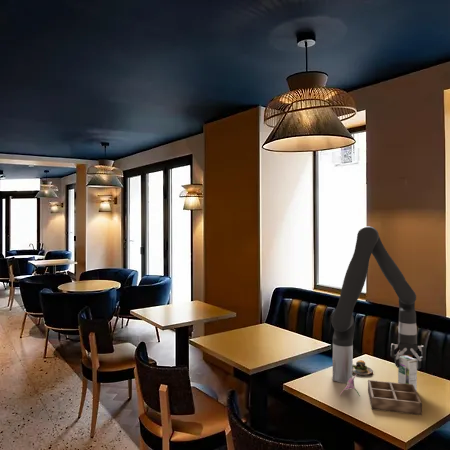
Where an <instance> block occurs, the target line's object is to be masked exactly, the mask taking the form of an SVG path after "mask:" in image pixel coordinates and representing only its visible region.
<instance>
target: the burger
mask: <svg viewBox="0 0 450 450" xmlns="http://www.w3.org/2000/svg"><path fill="white" fill-rule="evenodd" d="M353 374H354V375H356V374H357V375H361V376H368V375H371V376H373V375H374V370H373V369H372V368H370V367H368V366H367V365H366V361H364V360H362V359H359V360H357V361H356V364H354V363H353Z"/></svg>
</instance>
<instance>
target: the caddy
mask: <svg viewBox="0 0 450 450" xmlns="http://www.w3.org/2000/svg"><path fill="white" fill-rule="evenodd" d="M367 391H368V397H369V402H370V407H371V410H374V411H381V412H382V411H384V412H392V413H398V414H408V415H416V416H423V403H422V401H421V399H420V396H419V395H418V392H417V391H416V390H415V388H414V386H413V384H403V383H398V382H394V381H393V382H392V381H383V380H374V379H373V380H371V379H368V380H367Z"/></svg>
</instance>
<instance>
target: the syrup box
mask: <svg viewBox="0 0 450 450" xmlns="http://www.w3.org/2000/svg"><path fill="white" fill-rule="evenodd" d="M417 360H418V359H417V358H413V357H412V356H410V355H402V356H400V358H399V368H397V370H398V372H397V375H398V376H397V383H403V384H413V386H414V388H415V390H416V392H417V390H418V389H417V386H418V384H417V383H418V382H417V380H418V369H417Z"/></svg>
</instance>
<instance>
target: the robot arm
mask: <svg viewBox="0 0 450 450" xmlns="http://www.w3.org/2000/svg"><path fill="white" fill-rule="evenodd" d="M371 256H373V258H374V259H375V261H376V263H377V264H378V266H379V269H380V270H381V272H382V274H383V276H384V277H385V279H386V280H387V281H388V283H389V285H390V286H391V287H392V288H393V290H394V292H395V294H396V296H397V298H398V299H397V300H398V308H399V309H398V310H399V311H398V326H397V327H398V329H397V331H398V343H397V344H395V343H391V344H390V357H391V359H392V358H393V359H394V365H395V367H396V368H397V369H398V368H399V358H400V356H414V357H416V358H415V359H417V370H420V369H421V368H422V361H426V359H427V358H426V357H427V356H426V355H427V354H426V347H425V346H424V345H422V344H421V345H418V327H417V312H416V307H415V306H416V300H417V294H416V292H415V291H414V289H413V288H412V286H411V285H410V284H409V283H408V281H407V280H406V277H405V275H404V274H403V272H402V271H401V270H400V268H399V267H398V265H397V264H396V262H395V261H394V259H393V258H392V257H391V255H390V254H389V252H388V251H387V250H386V247H385V245H384V244H383V241H382V239H381V237H380V235H379V232H378V230H377V229H376V228H375V227H373V226H369V225H367V226H363V227H362V228H360V229H359V230H358V232H357V236H356V242H355V248H354V251H353V254H352V257H351V260H350V262H349V264H348V265H347V266H348V267H347V269H346V272H345V276H344V278H343V281H342V285H341V286H342V287H341V291H340V295H339V299H338V302H337V306H336V307H335V309H334V312H333V315H332V317H331V325H332V328H333V329H334V330H333V335H332V381H335V382H337V383H342V384H347V382H348V380H349V379H350V378H351V377H352V378H353V377H354V376H353V375H354V373H353V364H354V362H353V361H354V360H353V357H354V356H353V355H354V354H353V353H354V352H353V349H354V344H353V341H354V336H355V335H354V334H355V319H354V318H355V317H354V315H353V314H354V313H353V312H354V308H355V306H356V304H357V302H358V300H359V297H360V295H361V294H362V291H363V289H364V286H365V283H366V279H367V277H368V271H369V265H370V259H371ZM397 349H398V351H397V353H396V354H395V350H397ZM418 349H419V351H420V352H421V356H419V354H418V353H417V351H418ZM345 382H346V383H345Z"/></svg>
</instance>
